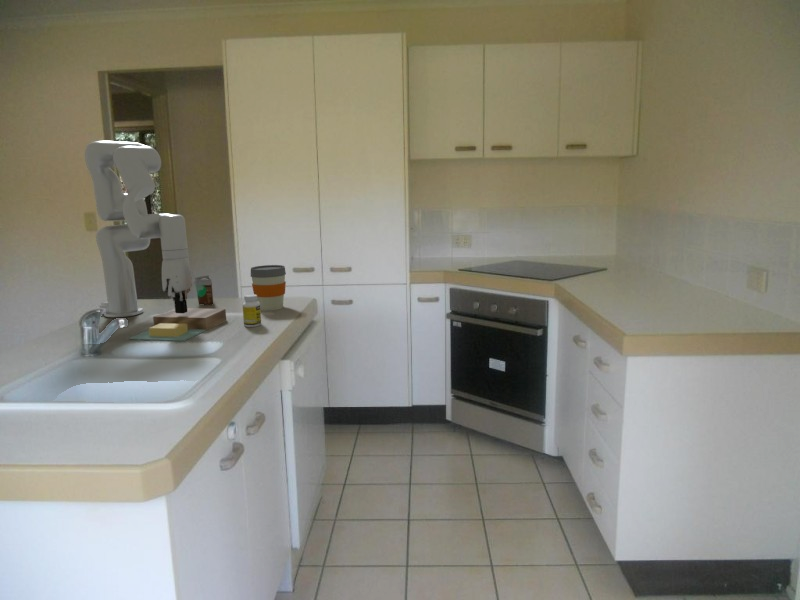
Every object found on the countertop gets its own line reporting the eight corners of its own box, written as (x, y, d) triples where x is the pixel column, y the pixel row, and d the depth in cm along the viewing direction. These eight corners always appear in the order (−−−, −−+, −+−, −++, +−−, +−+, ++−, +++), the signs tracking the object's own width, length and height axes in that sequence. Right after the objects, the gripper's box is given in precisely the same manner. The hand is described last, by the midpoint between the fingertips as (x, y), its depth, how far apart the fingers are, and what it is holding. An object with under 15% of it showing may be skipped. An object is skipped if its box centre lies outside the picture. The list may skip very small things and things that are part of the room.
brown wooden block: (154, 329, 179) (153, 316, 178) (177, 319, 192) (176, 308, 191) (206, 330, 176) (205, 317, 175) (226, 320, 188) (225, 308, 188)
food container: (194, 301, 223) (192, 276, 221) (210, 299, 225) (208, 275, 223) (196, 307, 211) (194, 280, 209) (213, 305, 214) (211, 279, 212)
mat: (129, 339, 167) (128, 338, 167) (153, 329, 179) (153, 328, 179) (184, 341, 164) (184, 339, 164) (205, 330, 176) (205, 329, 175)
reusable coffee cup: (295, 305, 210) (292, 265, 207) (272, 312, 199) (269, 270, 196) (268, 303, 215) (265, 264, 212) (245, 309, 204) (242, 269, 201)
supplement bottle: (259, 327, 178) (257, 296, 177) (242, 327, 178) (239, 297, 176) (262, 323, 184) (260, 293, 182) (246, 323, 184) (243, 294, 182)
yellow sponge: (160, 323, 174) (160, 331, 175) (148, 328, 168) (149, 336, 169) (187, 323, 173) (187, 331, 173) (176, 328, 167) (177, 336, 168)
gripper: (177, 252, 182) (183, 307, 186) (149, 258, 168) (156, 318, 172) (199, 252, 181) (204, 307, 185) (172, 258, 167) (179, 318, 170)
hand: (181, 312), depth 178 cm, fingers closed
